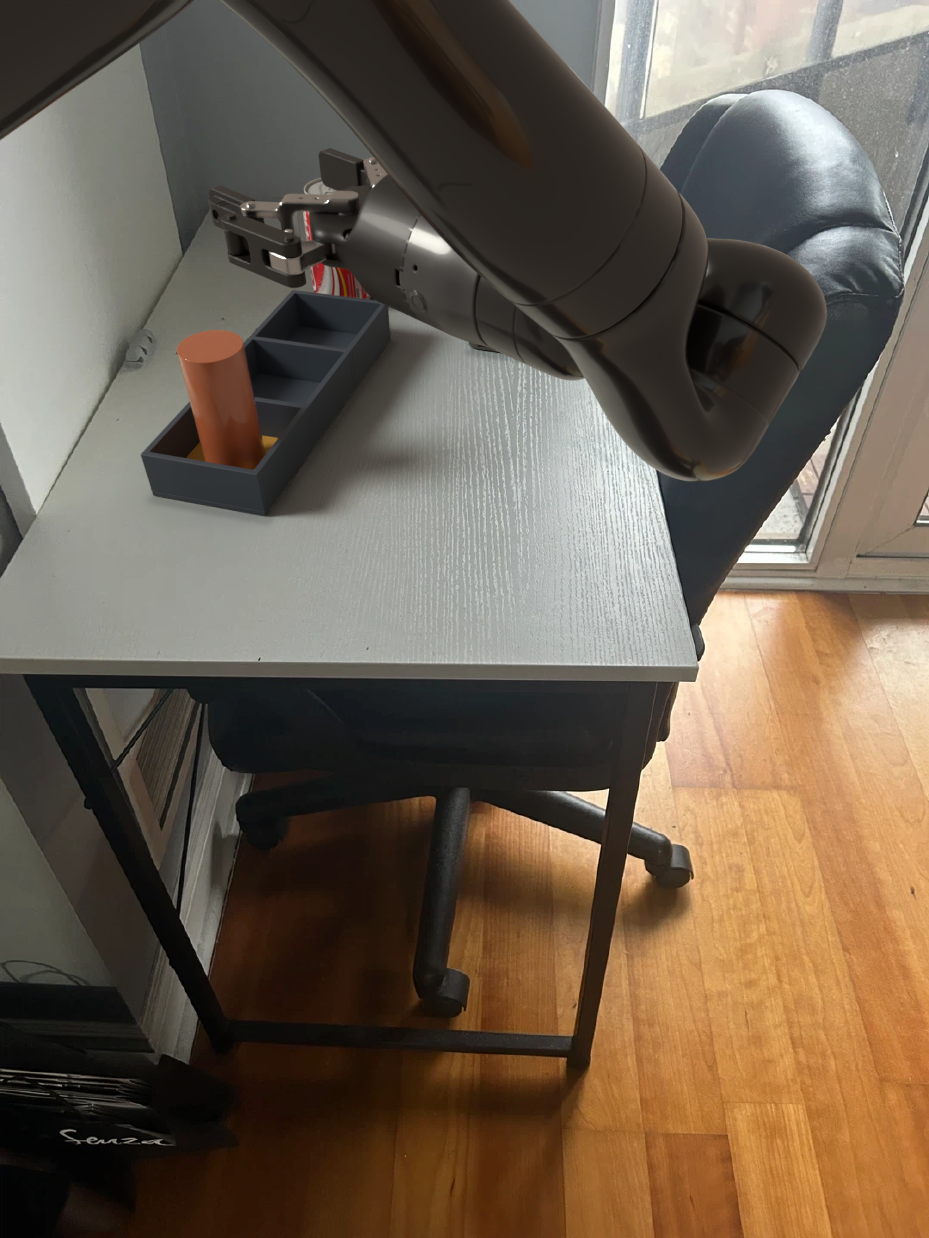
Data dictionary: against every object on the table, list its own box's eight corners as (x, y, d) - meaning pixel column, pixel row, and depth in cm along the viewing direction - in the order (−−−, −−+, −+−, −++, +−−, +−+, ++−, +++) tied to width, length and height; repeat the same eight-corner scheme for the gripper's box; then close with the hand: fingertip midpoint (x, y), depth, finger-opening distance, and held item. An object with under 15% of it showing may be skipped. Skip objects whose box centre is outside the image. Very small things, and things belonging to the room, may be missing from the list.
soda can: (379, 286, 114) (370, 174, 105) (369, 314, 109) (358, 199, 100) (321, 284, 115) (307, 173, 105) (309, 312, 109) (292, 198, 100)
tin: (250, 486, 85) (224, 366, 76) (196, 476, 86) (164, 357, 77) (276, 451, 88) (254, 334, 80) (224, 443, 90) (196, 326, 81)
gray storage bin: (265, 516, 83) (257, 474, 80) (153, 495, 85) (140, 454, 82) (390, 340, 105) (387, 301, 101) (298, 327, 107) (292, 289, 104)
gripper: (544, 152, 52) (350, 92, 60) (352, 230, 45) (160, 151, 53) (538, 282, 57) (360, 211, 65) (365, 371, 50) (189, 279, 58)
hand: (271, 184), depth 59 cm, fingers open, 8 cm apart
